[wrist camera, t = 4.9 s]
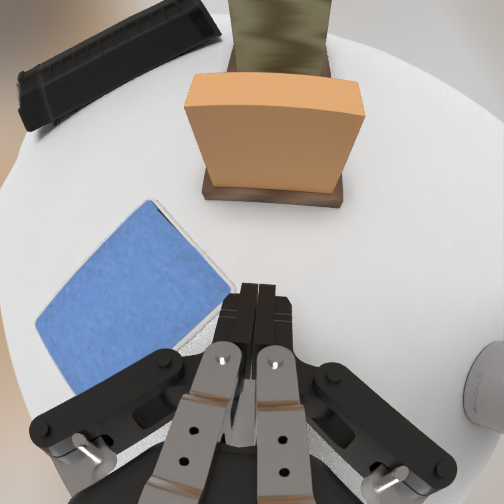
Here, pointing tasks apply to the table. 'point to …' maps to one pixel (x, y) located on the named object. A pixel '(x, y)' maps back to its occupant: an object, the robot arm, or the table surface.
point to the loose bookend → (274, 128)
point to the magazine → (111, 59)
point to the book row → (278, 61)
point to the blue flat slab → (131, 299)
